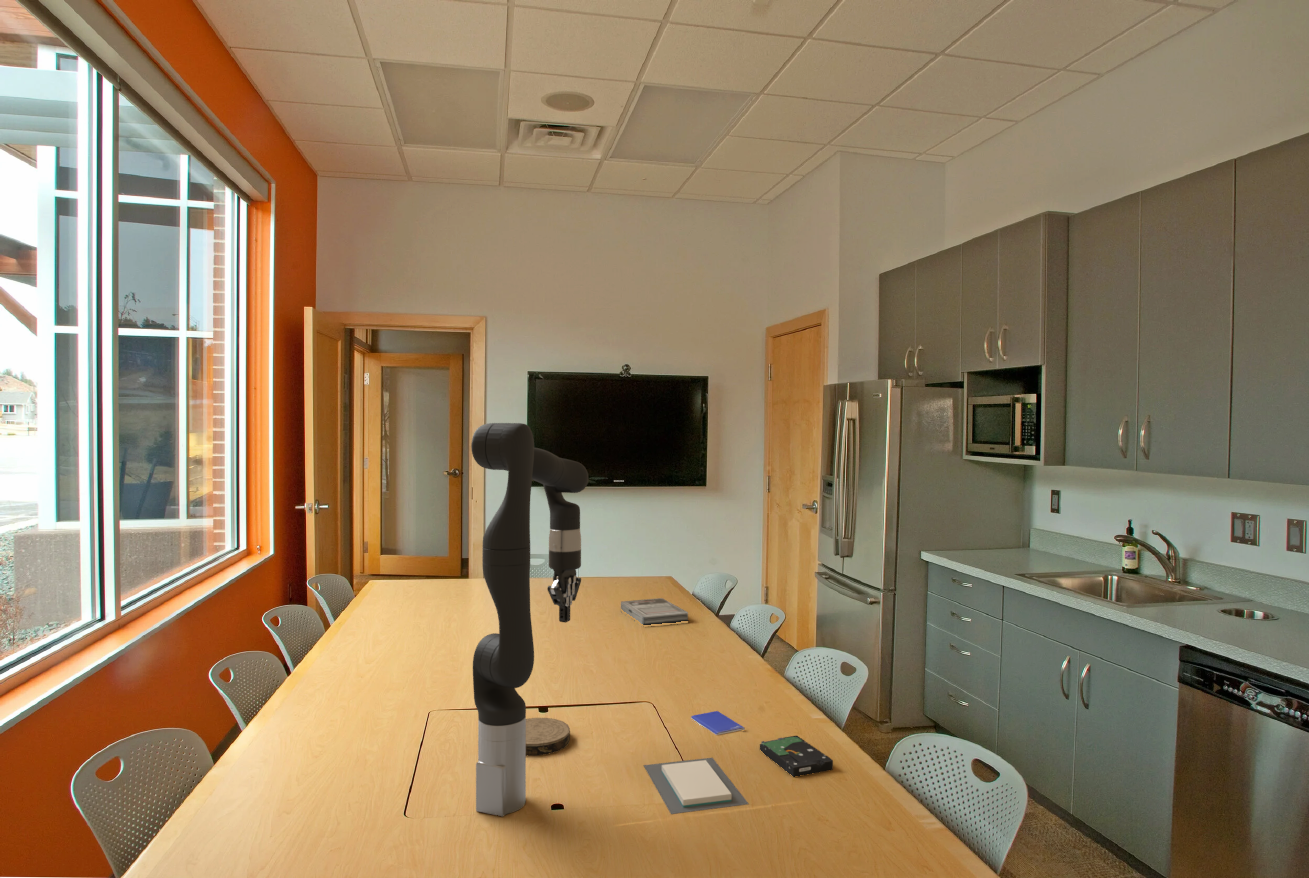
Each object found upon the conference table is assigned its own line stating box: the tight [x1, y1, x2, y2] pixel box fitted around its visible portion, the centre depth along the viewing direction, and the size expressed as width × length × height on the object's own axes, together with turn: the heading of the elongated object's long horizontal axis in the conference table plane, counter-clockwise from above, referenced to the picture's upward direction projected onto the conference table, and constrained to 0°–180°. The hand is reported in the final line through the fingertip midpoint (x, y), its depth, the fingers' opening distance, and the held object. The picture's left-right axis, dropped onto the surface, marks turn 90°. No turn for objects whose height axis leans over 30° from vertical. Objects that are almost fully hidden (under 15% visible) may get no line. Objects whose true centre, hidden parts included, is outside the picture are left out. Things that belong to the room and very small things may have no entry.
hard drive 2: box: [690, 710, 746, 736], centre depth 194 cm, size 2×8×12 cm
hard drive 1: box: [620, 597, 690, 625], centre depth 303 cm, size 18×27×4 cm
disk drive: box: [759, 735, 834, 778], centre depth 174 cm, size 10×3×15 cm
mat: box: [643, 757, 749, 815], centre depth 161 cm, size 22×16×1 cm
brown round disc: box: [526, 717, 571, 757], centre depth 183 cm, size 16×16×3 cm
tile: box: [662, 760, 732, 807], centre depth 160 cm, size 2×10×16 cm
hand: (564, 621), depth 181 cm, fingers closed
